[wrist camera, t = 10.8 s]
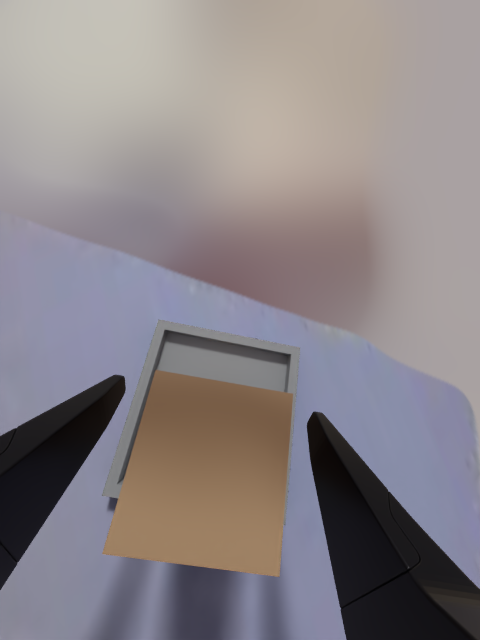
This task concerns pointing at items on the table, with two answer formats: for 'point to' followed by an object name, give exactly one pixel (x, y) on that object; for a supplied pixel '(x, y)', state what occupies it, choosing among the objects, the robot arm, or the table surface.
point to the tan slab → (206, 477)
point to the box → (206, 376)
